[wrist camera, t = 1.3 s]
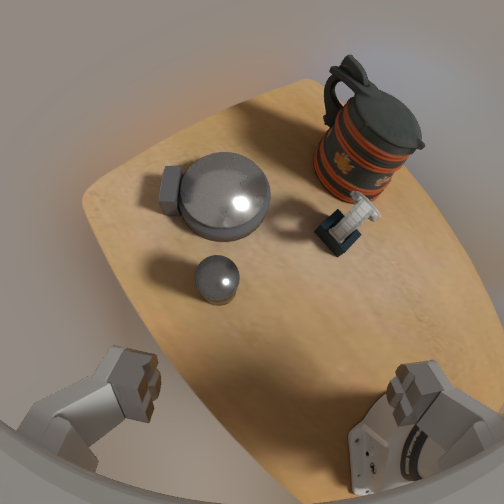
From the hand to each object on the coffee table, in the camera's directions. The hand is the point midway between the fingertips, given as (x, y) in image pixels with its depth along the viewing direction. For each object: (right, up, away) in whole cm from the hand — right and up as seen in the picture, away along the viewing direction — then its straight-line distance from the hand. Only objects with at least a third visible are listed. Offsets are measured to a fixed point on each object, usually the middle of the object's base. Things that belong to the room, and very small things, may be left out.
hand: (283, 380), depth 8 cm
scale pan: (-5, +13, +32) cm, 35 cm away
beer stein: (+16, +21, +40) cm, 48 cm away
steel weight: (-6, -1, +31) cm, 32 cm away
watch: (+12, +7, +35) cm, 38 cm away
